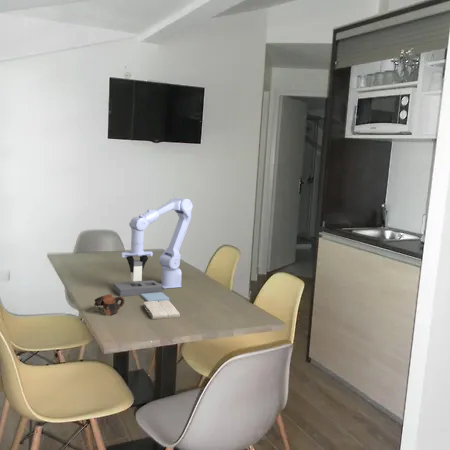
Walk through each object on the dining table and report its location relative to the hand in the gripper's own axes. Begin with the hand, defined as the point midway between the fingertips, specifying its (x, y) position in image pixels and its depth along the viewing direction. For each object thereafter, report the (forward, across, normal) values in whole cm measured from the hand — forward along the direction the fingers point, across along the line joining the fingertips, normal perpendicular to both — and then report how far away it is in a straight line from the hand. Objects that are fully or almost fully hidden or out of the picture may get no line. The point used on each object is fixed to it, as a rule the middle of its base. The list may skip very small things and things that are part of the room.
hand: (136, 271), depth 230 cm
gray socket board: (+9, +1, 0) cm, 9 cm away
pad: (+9, +5, -13) cm, 17 cm away
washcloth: (+10, +1, -31) cm, 33 cm away
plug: (+4, 0, 0) cm, 4 cm away
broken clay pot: (+10, -19, -25) cm, 33 cm away
